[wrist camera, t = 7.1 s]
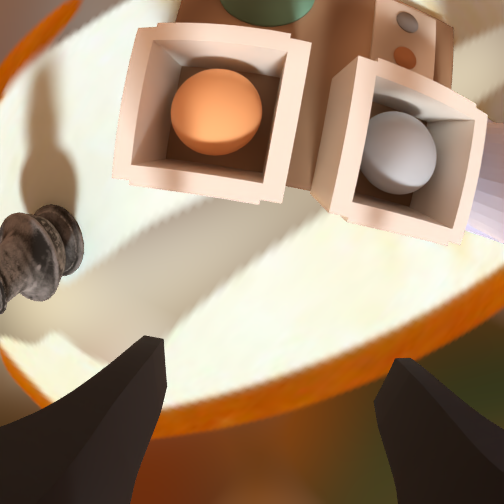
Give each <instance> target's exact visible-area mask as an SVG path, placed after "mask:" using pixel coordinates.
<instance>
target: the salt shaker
mask: <svg viewBox="0 0 504 504" xmlns="http://www.w3.org/2000/svg"><path fill="white" fill-rule="evenodd" d="M83 254H84V243H83V238H82V233H81V231H80V229H79V226H78V224H77V222H76V221H75V219H74V218H73V216H72V215H71V214H70V213H69V212H68V211H67V210H65V209H64V208H62V207H60V206H57V205H52V204H51V205H46V206H43V207H42V208H40V209H38V210H37V212H36V213H35V214H34V215H30V214H24V213H20V212H19V213H14V214H11V215H10V216H8V217H7V218H6V219H5V220H4V222H3V223H2V225H1V227H0V314H2V313H4V311H5V310H6V306H7V302H8V301H10V300H11V299H12V298H13V297H15V296H16V295H17V294H18V293H21V294H22V295H23V296H25V297H26V298H28V299H31V300H34V301H45V300H47V299H49V298H50V297H51V296H52V295H53V294H54V293H55V292H56V290H57V287H58V285H59V282H60V279H61V277H62V276H67V275H69V274H72V273H73V272H74V271H76V270H77V269H78V268H79V266H80V264H81V262H82V259H83Z"/></svg>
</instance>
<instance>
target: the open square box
mask: <svg viewBox="0 0 504 504" xmlns="http://www.w3.org/2000/svg"><path fill="white" fill-rule="evenodd" d="M372 101H373V102H376V103H379V104H382V105H384V106H387V107H390V108H393V109H396V110H398V111H401V112H404V113H406V114H409V115H411V116H414V117H416V118H419V119H421V120H424V121H426V122H427V126H426V128H427V129H428V131H429V132H430V134H431V136H432V138H433V140H434V143H435V146H436V154H437V159H436V166H435V169H434V172H433V174H432V176H431V178H430V179H429V181H428V182H427V183H426V184H425V185H424V186H423V187H421V188H420V189H418V190H417V191H414V192H413V195H412V199H411V203H410V207H408V206H405V205H401V204H397V203H394V202H390V201H386V200H383V199H379V198H375V197H371V196H367V195H363V194H359V193H355V187H356V183H357V178H358V174H359V169H360V165H361V160H362V155H363V150H364V145H365V140H366V134H367V129H368V123H369V118H370V112H371V106H372ZM476 105H477V104H476V103H474V102H473V101H471V100H469V99H467V98H466V97H464V96H462V95H460V94H458V93H456V92H455V91H453V90H451V89H449V88H447V87H445V86H443V85H441V84H439V83H437V82H435V81H433V80H431V79H429V78H426V77H424V76H422V75H420V74H418V73H415V72H413V71H411V70H408V69H406V68H404V67H401V66H399V65H396V64H394V63H391V62H388V61H386V60H383V59H380V58H377V59H376V60H374V61H373V60H370V59H367V58H364V57H361V56H357V57H356V58H355V59H354V60H353V61H351V62H350V63H349V64H348V65H347V66H346V67H345V68H343V69H342V70H341V71H340V72H339V73H338V74H337V75H335V76H334V77H333V78H332V81H331V87H330V93H329V99H328V104H327V110H326V115H325V121H324V126H323V132H322V137H321V142H320V147H319V152H318V157H317V162H316V167H315V172H314V177H313V182H312V186H311V191H310V194H311V195H312V196H313V197H314V198H315V199H316V200H317V201H318V202H319V203H320V204H321V206H322V207H323V208H324V209H325V210H326V211H327V212H328V213H331V214H336V215H340V216H341V217H342V218H343V219H344V220H345V221H346V222H349V223H353V224H358V225H362V226H367V227H371V228H376V229H380V230H384V231H389V232H393V233H397V234H401V235H405V236H410V237H414V238H418V239H422V240H426V241H430V242H433V243H437V244H441V245H445V246H447V245H448V242H451V243H454V244H458V245H461V242H462V239H463V235H464V232H465V229H466V225H467V222H468V218H469V215H470V211H471V207H472V203H473V199H474V195H475V191H476V186H477V182H478V177H479V172H480V167H481V161H482V155H483V149H484V142H485V135H486V127H487V118H488V115H487V114H486V113H484V112H482V111H481V110H479V109H477V108H476Z"/></svg>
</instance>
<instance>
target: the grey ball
mask: <svg viewBox="0 0 504 504" xmlns="http://www.w3.org/2000/svg"><path fill="white" fill-rule="evenodd" d="M436 159H437V154H436V146H435V143H434V140H433V138H432V136H431V134H430V132H429V131H428V129H427V128H426V127H425V126H424V125H423V123H421V122H420V121H419V120H418V119H416V118H415V117H413V116H411V115H409V114H406V113H403V112H398V111H389V112H383V113H380V114H378V115H376V116H374V117H372V118H371V119H370V120H369V123H368V129H367V134H366V140H365V145H364V150H363V155H362V160H361V165H360V169H361V171H362V173H363V174H364V176H365V177H366V178H367V179H368V181H369V182H370V183H371V184H373V185H374V186H375V187H377V188H378V189H380V190H382V191H384V192H387V193H391V194H398V195H401V194H408V193H412V192H414V191H417V190H418V189H420V188H421V187H423V186H424V185H425V184H426V183H427V182H428V181H429V179H430V178H431V176H432V174H433V172H434V169H435V166H436Z"/></svg>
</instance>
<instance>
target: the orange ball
mask: <svg viewBox="0 0 504 504" xmlns="http://www.w3.org/2000/svg"><path fill="white" fill-rule="evenodd" d="M261 119H262V103H261V99H260V96H259V94H258V92H257V90H256V88H255V87H254V85H253V84H252V83H251V82H250V81H249V80H248V79H247V78H245V77H244V76H242V75H241V74H239V73H236V72H234V71H231V70H227V69H209V70H204V71H201V72H199V73H197V74H195V75H193V76H191V77H190V78H188V79H187V80H186V81H185V82H184V83H183V84H182V85H181V86H180V88H179V89H178V90H177V92H176V94H175V96H174V98H173V101H172V105H171V122H172V125H173V128H174V130H175V133H176V134H177V136H178V137H179V139H180V140H181V141H182V142H183V143H184V144H185V145H186V146H187V147H189V148H190V149H192V150H194V151H196V152H198V153H201V154H206V155H213V156H217V155H226V154H229V153H232V152H235V151H237V150H239V149H240V148H242V147H244V146H245V145H246V144H247V143H248V142H249V141H250V140H251V139H252V138H253V137H254V135H255V134H256V132H257V130H258V128H259V126H260V123H261Z"/></svg>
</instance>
